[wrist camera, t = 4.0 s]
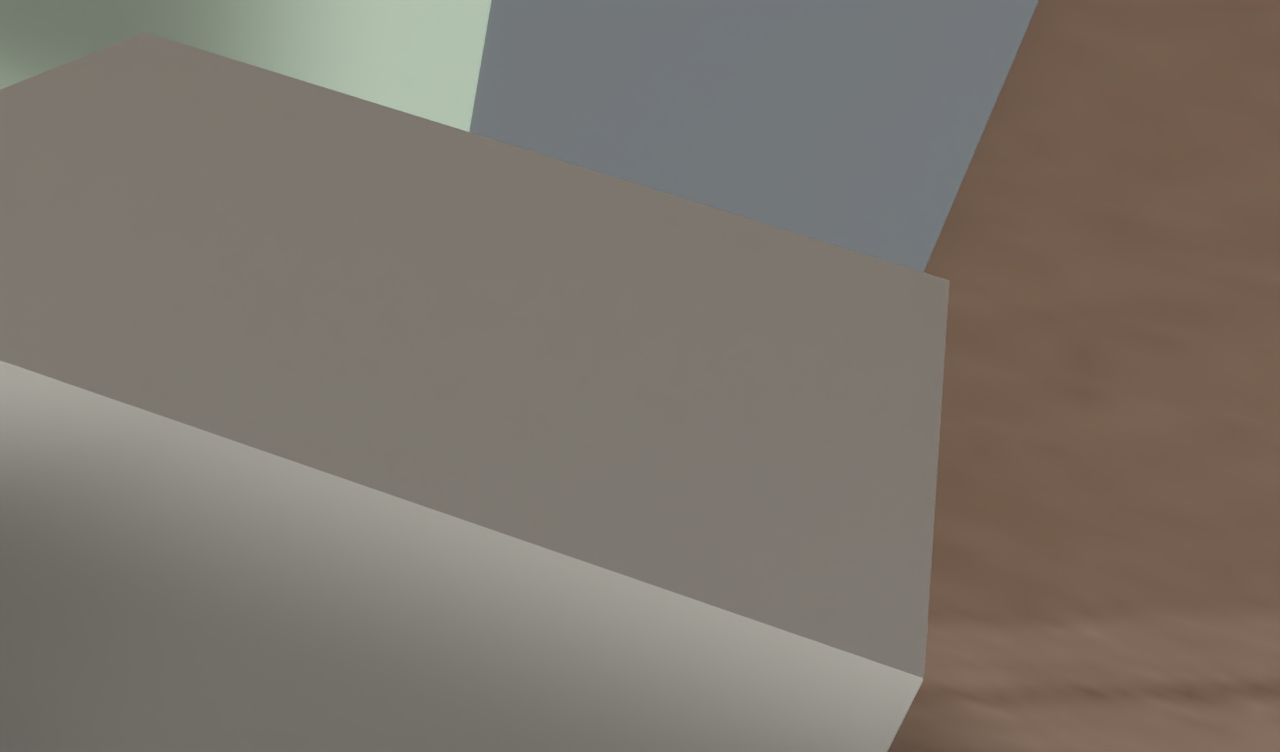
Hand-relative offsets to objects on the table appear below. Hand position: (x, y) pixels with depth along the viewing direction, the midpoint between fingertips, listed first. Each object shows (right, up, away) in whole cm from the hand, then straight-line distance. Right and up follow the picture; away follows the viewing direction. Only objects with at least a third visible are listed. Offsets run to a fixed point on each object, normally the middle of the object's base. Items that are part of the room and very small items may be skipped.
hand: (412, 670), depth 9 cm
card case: (0, 0, +1) cm, 1 cm away
